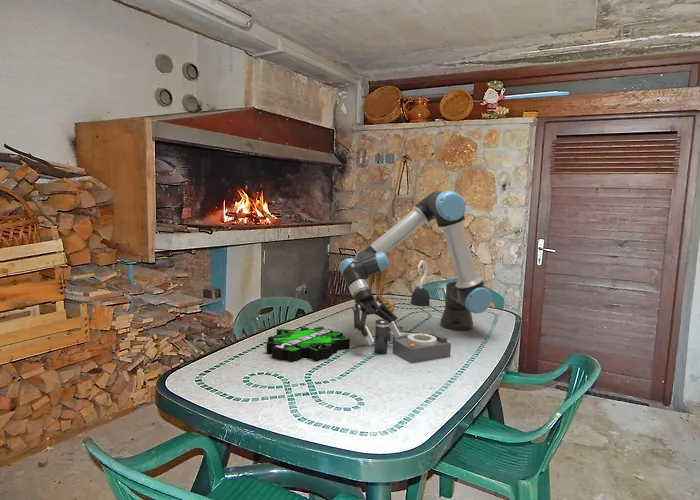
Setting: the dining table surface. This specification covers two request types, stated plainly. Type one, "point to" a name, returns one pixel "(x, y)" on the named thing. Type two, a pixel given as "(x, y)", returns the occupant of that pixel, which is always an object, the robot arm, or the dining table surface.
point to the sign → (306, 344)
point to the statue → (381, 276)
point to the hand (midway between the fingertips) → (385, 340)
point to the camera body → (422, 347)
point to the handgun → (403, 333)
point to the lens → (381, 336)
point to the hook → (421, 290)
